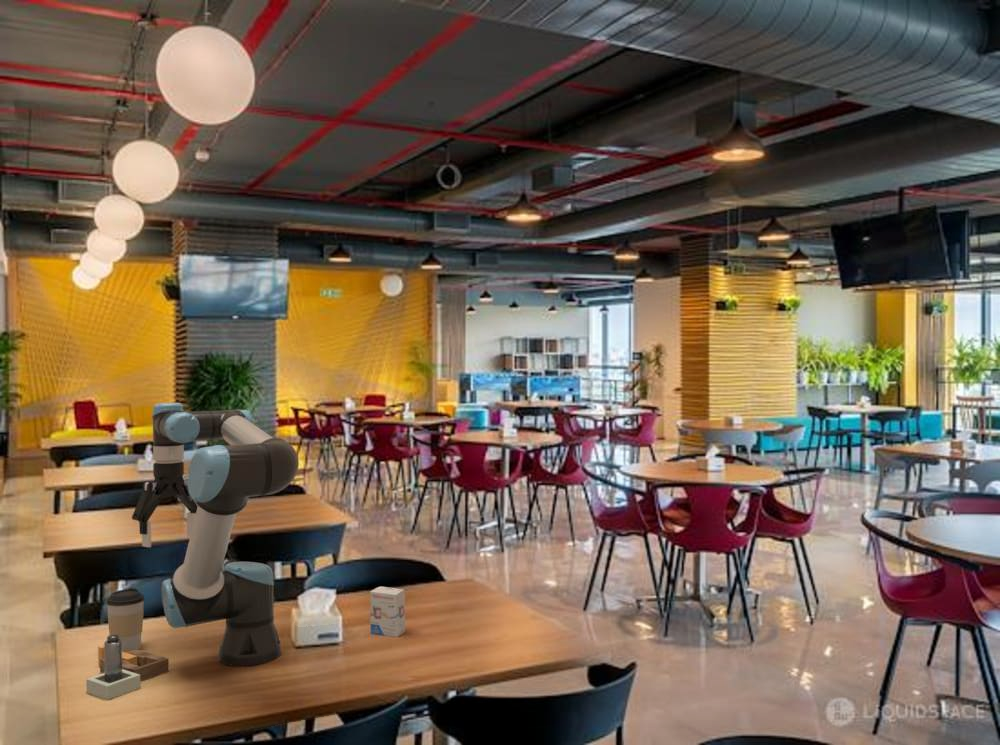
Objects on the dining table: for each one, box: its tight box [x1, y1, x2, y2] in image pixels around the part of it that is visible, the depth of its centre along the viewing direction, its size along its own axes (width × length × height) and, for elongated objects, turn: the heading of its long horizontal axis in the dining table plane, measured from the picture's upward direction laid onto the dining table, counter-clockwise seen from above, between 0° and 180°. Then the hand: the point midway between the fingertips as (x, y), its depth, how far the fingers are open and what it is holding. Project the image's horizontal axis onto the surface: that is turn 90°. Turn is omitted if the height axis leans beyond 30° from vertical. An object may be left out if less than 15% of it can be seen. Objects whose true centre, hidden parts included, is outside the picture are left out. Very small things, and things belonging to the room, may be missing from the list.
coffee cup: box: [105, 587, 145, 652], centre depth 217 cm, size 9×9×15 cm
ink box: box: [369, 586, 406, 638], centre depth 229 cm, size 9×5×12 cm, turn 68°
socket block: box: [99, 649, 170, 682], centre depth 201 cm, size 14×9×3 cm, turn 58°
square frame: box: [85, 669, 141, 701], centre depth 190 cm, size 8×8×3 cm
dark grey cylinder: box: [103, 635, 122, 683], centre depth 190 cm, size 4×4×12 cm
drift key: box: [97, 644, 137, 666], centre depth 204 cm, size 10×4×4 cm, turn 58°
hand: (169, 541), depth 222 cm, fingers open, 13 cm apart
